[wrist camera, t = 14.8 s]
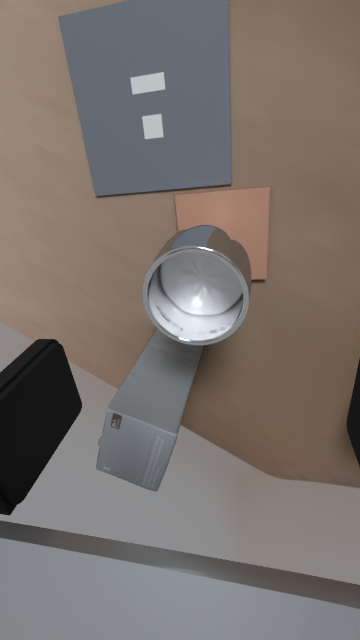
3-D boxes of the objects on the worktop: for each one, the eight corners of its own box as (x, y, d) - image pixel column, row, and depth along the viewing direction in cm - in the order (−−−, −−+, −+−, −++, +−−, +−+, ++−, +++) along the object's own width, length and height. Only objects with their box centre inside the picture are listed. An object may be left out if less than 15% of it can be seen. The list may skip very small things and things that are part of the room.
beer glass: (178, 266, 34) (136, 338, 21) (185, 199, 30) (139, 234, 17) (242, 276, 33) (240, 357, 20) (256, 208, 29) (265, 252, 16)
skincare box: (190, 386, 42) (164, 499, 28) (141, 371, 42) (91, 474, 29) (207, 337, 38) (186, 441, 24) (152, 320, 38) (101, 413, 24)
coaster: (269, 186, 29) (269, 186, 28) (266, 277, 33) (266, 279, 32) (175, 194, 31) (174, 194, 30) (183, 279, 35) (183, 281, 34)
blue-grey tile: (228, -21, 23) (227, -23, 23) (231, 183, 29) (231, 184, 29) (59, 17, 26) (58, 16, 25) (96, 195, 32) (95, 196, 32)
